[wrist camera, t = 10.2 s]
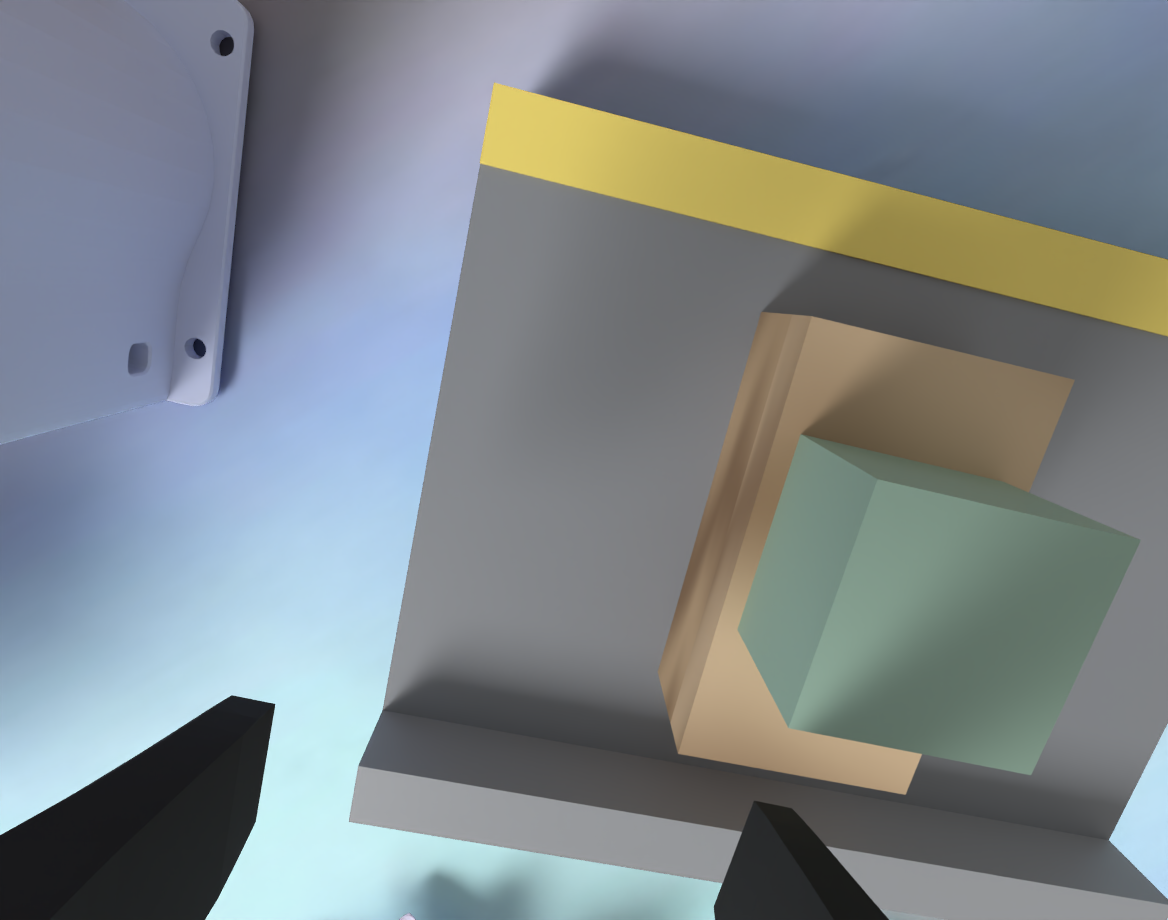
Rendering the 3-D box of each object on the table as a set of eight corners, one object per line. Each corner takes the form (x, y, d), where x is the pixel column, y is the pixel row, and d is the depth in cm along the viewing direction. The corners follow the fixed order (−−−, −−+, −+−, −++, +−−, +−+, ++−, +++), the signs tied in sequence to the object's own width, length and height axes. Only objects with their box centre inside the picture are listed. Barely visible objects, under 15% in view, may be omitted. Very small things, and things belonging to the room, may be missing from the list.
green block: (927, 669, 13) (1031, 775, 10) (737, 629, 13) (788, 728, 10) (1003, 481, 12) (1140, 539, 9) (800, 434, 12) (877, 479, 9)
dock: (1015, 803, 21) (1148, 952, 16) (401, 691, 20) (348, 821, 15) (1239, 311, 18) (1497, 318, 13) (507, 122, 16) (482, 47, 11)
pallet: (846, 708, 17) (904, 794, 14) (657, 671, 16) (678, 754, 13) (973, 363, 15) (1075, 379, 12) (761, 311, 14) (812, 316, 11)
